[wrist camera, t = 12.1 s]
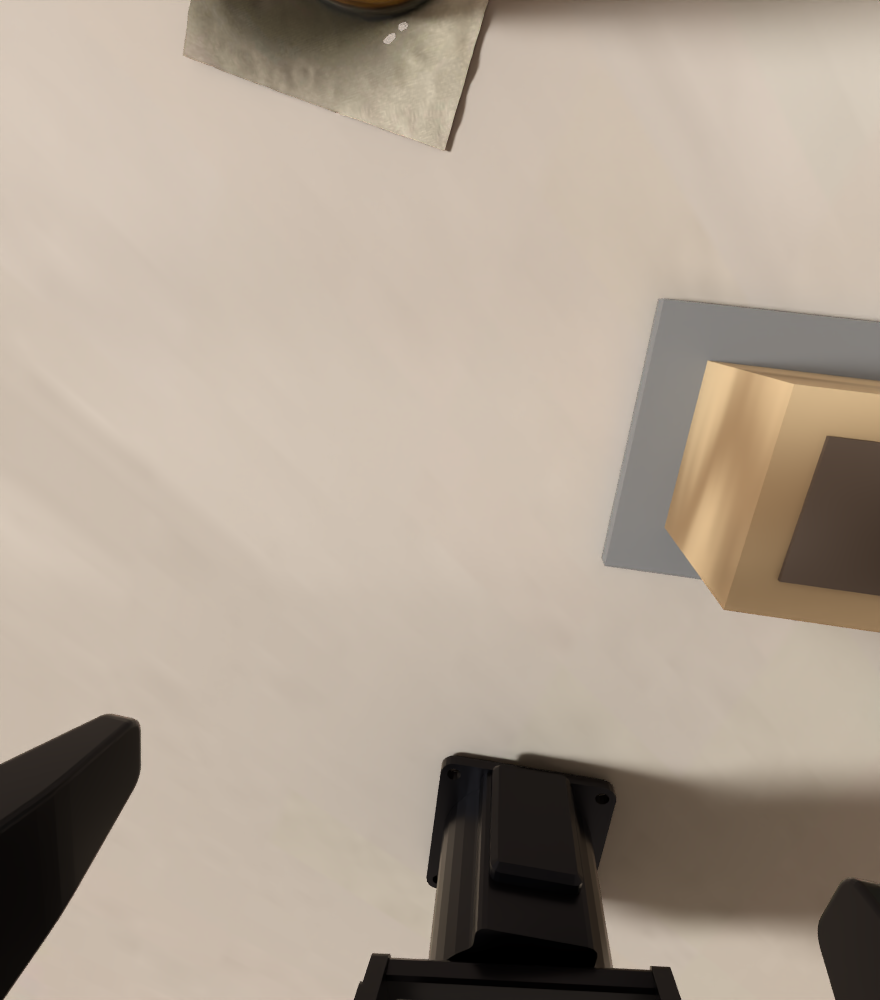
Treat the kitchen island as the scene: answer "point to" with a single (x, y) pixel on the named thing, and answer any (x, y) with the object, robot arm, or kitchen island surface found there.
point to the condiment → (348, 55)
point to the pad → (674, 393)
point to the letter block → (783, 494)
